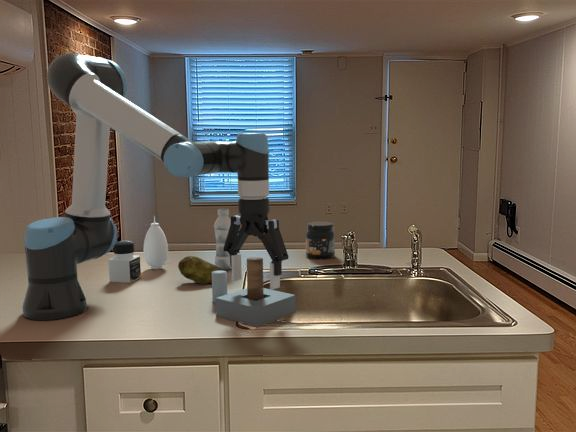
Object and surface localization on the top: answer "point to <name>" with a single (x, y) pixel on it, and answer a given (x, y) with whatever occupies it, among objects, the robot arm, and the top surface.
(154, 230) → the sauce bottle
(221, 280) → the short pin
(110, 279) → the medicine bottle
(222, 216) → the plastic bottle
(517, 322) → the top surface
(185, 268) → the potato
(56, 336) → the top surface
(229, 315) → the hole block
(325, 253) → the supplement container
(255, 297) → the long pin
